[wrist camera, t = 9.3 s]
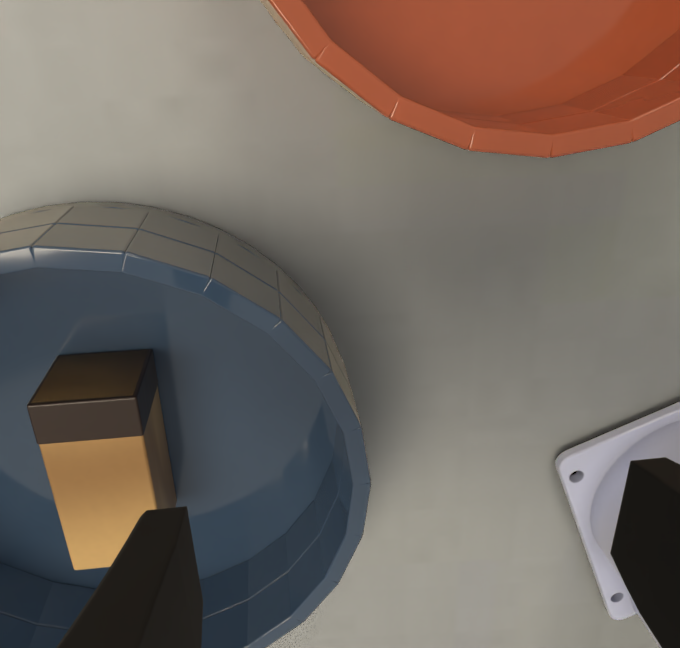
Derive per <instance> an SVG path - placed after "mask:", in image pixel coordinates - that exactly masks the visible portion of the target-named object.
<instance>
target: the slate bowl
mask: <svg viewBox="0 0 680 648" xmlns="http://www.w3.org/2000/svg"><path fill="white" fill-rule="evenodd" d="M141 349H152V350H153V355H154V361H155V367H156V373H157V379H158V385H157V386H158V391H159V397H160V403H161V409H162V415H163V421H164V427H165V433H166V439H167V445H168V451H169V457H170V463H171V469H172V475H173V481H174V487H175V493H176V499H177V501H176V507H184V506H187V510H188V516H189V522H190V527H191V533H192V539H193V545H194V551H195V557H196V562H197V568H198V574H199V580H200V586H201V591H202V597H203V618H202V641H201V648H266V647H268V646H269V645H271V644H272V643H274V642H275V641H277V640H278V639H280V638H281V637H282V636H284V635H285V634H287V633H288V632H290V631H291V630H293V629H294V628H296V627H297V626H299V625H300V624H301V623H302V622H304V621H305V620H306V619H307V618H308V617H309V616H310V614H311V613H312V612H313V611H314V610H315V609H316V608H317V607H318V606H319V604H320V603H321V602H322V601H323V600H324V599H325V598H326V597H327V596H328V595H329V593H330V592H331V591H332V590H333V589H334V588H335V587H336V586H337V585H338V583H339V582H340V580H341V578H342V576H343V574H344V572H345V570H346V568H347V566H348V564H349V562H350V560H351V558H352V556H353V554H354V552H355V550H356V548H357V546H358V544H359V542H360V540H361V538H362V535H363V531H364V525H365V519H366V513H367V506H368V500H369V494H370V487H371V478H370V472H369V466H368V460H367V454H366V449H365V443H364V437H363V431H362V426H361V422H360V419H359V415H358V411H357V408H356V404H355V400H354V396H353V393H352V389H351V385H350V382H349V378H348V374H347V371H346V367H345V364H344V361H343V359H342V357H341V355H340V353H339V350H338V348H337V346H336V343H335V341H334V339H333V336H332V334H331V332H330V330H329V328H328V326H327V325H326V323H325V321H324V320H323V318H322V316H321V315H320V313H319V311H318V310H317V308H316V307H315V305H314V304H313V303H312V302H311V301H310V299H309V298H308V297H307V296H306V294H305V293H304V292H303V291H302V290H301V288H300V287H299V286H298V285H297V284H296V283H295V282H294V281H293V280H292V279H291V278H290V277H289V276H288V275H287V274H286V273H285V272H284V271H282V270H281V269H280V268H279V267H278V266H277V265H276V264H275V263H274V262H272V261H271V260H269V259H268V258H267V257H265V256H264V255H262V254H261V253H260V252H258V251H257V250H256V249H254V248H253V247H251V246H250V245H248V244H247V243H245V242H243V241H241V240H239V239H237V238H236V237H234V236H232V235H230V234H228V233H226V232H225V231H223V230H221V229H219V228H216V227H214V226H211V225H209V224H206V223H204V222H201V221H199V220H196V219H194V218H191V217H188V216H185V215H181V214H178V213H174V212H170V211H166V210H162V209H158V208H154V207H149V206H141V205H134V204H126V203H119V202H76V203H67V204H58V205H50V206H43V207H39V208H35V209H31V210H27V211H24V212H20V213H16V214H12V215H9V216H6V217H4V218H2V219H0V648H56V647H57V645H58V644H59V643H60V641H61V640H62V638H63V637H64V636H65V634H66V633H67V631H68V630H69V628H70V627H71V625H72V624H73V622H74V621H75V619H76V618H77V616H78V615H79V613H80V612H81V611H82V609H83V608H84V606H85V605H86V603H87V602H88V600H89V599H90V597H91V596H92V594H93V593H94V591H95V590H96V588H97V587H98V585H99V584H100V582H101V580H102V579H103V577H104V576H105V574H106V573H107V571H108V569H109V568H110V567H104V568H94V569H85V570H74V568H73V565H72V561H71V557H70V554H69V550H68V547H67V543H66V540H65V536H64V532H63V529H62V525H61V522H60V518H59V514H58V511H57V507H56V504H55V500H54V497H53V493H52V489H51V486H50V482H49V479H48V475H47V472H46V468H45V464H44V461H43V457H42V454H41V450H40V446H39V444H37V442H36V438H35V435H34V431H33V428H32V424H31V420H30V417H29V413H28V410H27V404H28V402H29V401H30V399H31V398H32V396H33V394H34V393H35V391H36V389H37V388H38V386H39V385H40V383H41V381H42V380H43V378H44V376H45V375H46V373H47V372H48V370H49V368H50V367H51V365H52V363H53V362H54V360H55V358H56V357H57V356H58V355H69V354H83V353H98V352H112V351H126V350H141Z"/></svg>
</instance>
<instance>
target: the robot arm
mask: <svg viewBox="0 0 680 648" xmlns="http://www.w3.org/2000/svg"><path fill="white" fill-rule="evenodd" d="M555 465H556V469H557V472H558V474H559V477H560V480H561V483H562V486H563V489H564V491H565V494H566V497H567V500H568V503H569V506H570V508H571V511H572V514H573V517H574V520H575V523H576V526H577V528H578V531H579V534H580V537H581V540H582V543H583V545H584V548H585V551H586V554H587V557H588V560H589V562H590V565H591V568H592V571H593V574H594V577H595V579H596V582H597V585H598V588H599V591H600V594H601V596H602V599H603V602H604V605H605V608H606V610H607V612H608V614H609V615H610V617H611V618H612V619H615V620H622V619H625V618H628V617H630V616H633V615H635V614H638V616H639V617H640V619H641V620H642V622H643V623H644V625H645V626H646V628H647V629H648V631H649V632H650V634H651V636H652V637H653V639H654V640H655V642H656V643H657V645H658V646H659V648H680V402H677V403H675V404H673V405H670V406H668V407H666V408H663V409H661V410H659V411H656V412H654V413H652V414H649V415H647V416H645V417H642V418H640V419H638V420H635V421H633V422H631V423H628V424H626V425H624V426H621V427H619V428H617V429H614V430H612V431H610V432H607V433H605V434H603V435H600V436H598V437H596V438H593V439H591V440H589V441H586V442H584V443H582V444H579V445H577V446H575V447H572V448H570V449H568V450H565V451H564V452H562V453H560V455H559V456H558V457H557V459H556V461H555ZM575 471H577V472H576V473H575V474H574V475H571V474H572V473H573V472H575ZM202 618H203V597H202V591H201V586H200V580H199V574H198V568H197V562H196V557H195V551H194V545H193V539H192V533H191V527H190V522H189V516H188V510H187V506H184V507H174V508H165V509H155V510H146V511H145V512H144V513H143V514H142V515H141V517H140V518H139V520H138V521H137V523H136V525H135V527H134V528H133V530H132V532H131V533H130V535H129V537H128V539H127V540H126V542H125V544H124V545H123V547H122V549H121V550H120V552H119V553H118V555H117V557H116V558H115V560H114V562H113V563H112V565H111V566H110V568H109V569H108V571H107V573H106V574H105V576H104V577H103V579H102V580H101V582H100V584H99V585H98V587H97V588H96V590H95V591H94V593H93V594H92V596H91V597H90V599H89V600H88V602H87V603H86V605H85V606H84V608H83V609H82V611H81V612H80V613H79V615H78V616H77V618H76V619H75V621H74V622H73V624H72V625H71V627H70V628H69V630H68V631H67V633H66V634H65V636H64V637H63V638H62V640H61V641H60V643H59V644H58V645H57V647H56V648H201V641H202Z"/></svg>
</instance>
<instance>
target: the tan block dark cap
mask: <svg viewBox="0 0 680 648" xmlns="http://www.w3.org/2000/svg"><path fill="white" fill-rule="evenodd" d="M157 385H158V379H157V373H156V367H155V361H154V355H153V350H152V349H141V350H126V351H112V352H98V353H83V354H69V355H58V356H57V357H56V358H55V360H54V362H53V363H52V365H51V367H50V368H49V370H48V372H47V373H46V375H45V376H44V378H43V380H42V381H41V383H40V385H39V386H38V388H37V389H36V391H35V393H34V394H33V396H32V398H31V399H30V401H29V402H28V404H27V410H28V413H29V417H30V420H31V424H32V428H33V431H34V435H35V438H36V442H37V444H39V446H40V450H41V454H42V457H43V461H44V464H45V468H46V472H47V475H48V479H49V482H50V486H51V489H52V493H53V497H54V500H55V504H56V507H57V511H58V514H59V518H60V522H61V525H62V529H63V532H64V536H65V540H66V543H67V547H68V550H69V554H70V557H71V561H72V565H73V568H74V570H85V569H94V568H104V567H110V566H111V565H112V563H113V562H114V560H115V558H116V557H117V555H118V553H119V552H120V550H121V549H122V547H123V545H124V544H125V542H126V540H127V539H128V537H129V535H130V533H131V532H132V530H133V528H134V527H135V525H136V523H137V521H138V520H139V518H140V517H141V515H142V514H143V513H144V512H145V511H146V510H155V509H165V508H174V507H176V501H177V499H176V493H175V487H174V481H173V475H172V469H171V463H170V457H169V451H168V445H167V439H166V433H165V427H164V421H163V415H162V409H161V403H160V397H159V391H158V386H157Z"/></svg>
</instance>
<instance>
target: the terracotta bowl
mask: <svg viewBox="0 0 680 648" xmlns="http://www.w3.org/2000/svg"><path fill="white" fill-rule="evenodd" d="M260 1H261V3H262V4H263V5H264V7H265V8H266V9H267V11H268V12H269V13H270V15H271V16H272V18H273V19H274V21H275V22H276V24H277V25H278V26H279V27H280V28H281V29H282V31H283V32H284V33H285V34H286V35H287V37H288V38H289V39H290V41H291V42H292V43H293V45H294V46H295V47H296V48H297V50H298V51H299V52H300V54H302V55H303V57H304V58H305V59H307V60H308V61H309V62H311V63H312V64H313V65H314V66H316V67H317V68H318V69H320V70H321V71H322V72H323V73H325V74H326V75H327V76H328V77H329V78H331V79H332V80H333V81H335V82H336V83H338V84H339V85H340V86H341V87H343V88H344V89H345V90H347V91H348V92H349V93H350V94H352V95H353V96H354V97H356V98H357V99H358V100H359V101H361V102H362V103H364V104H365V105H367V106H369V107H370V108H372V109H374V110H375V111H377V112H378V113H380V114H382V115H383V116H385V117H387V118H388V119H390V120H392V121H395V122H397V123H400V124H402V125H405V126H407V127H410V128H412V129H415V130H417V131H420V132H422V133H425V134H427V135H430V136H432V137H435V138H437V139H439V140H442V141H444V142H447V143H449V144H452V145H454V146H457V147H459V148H462V149H464V150H469V151H476V152H487V153H498V154H509V155H519V156H530V157H541V158H548V157H551V158H553V157H559V156H564V155H569V154H575V153H580V152H585V151H591V150H596V149H601V148H607V147H612V146H618V145H623V144H628V143H631V142H634V141H637V140H639V139H641V138H643V137H645V136H647V135H650V134H652V133H654V132H656V131H658V130H660V129H663V128H665V127H667V126H669V125H671V124H673V123H676V122H678V121H680V0H260Z"/></svg>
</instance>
